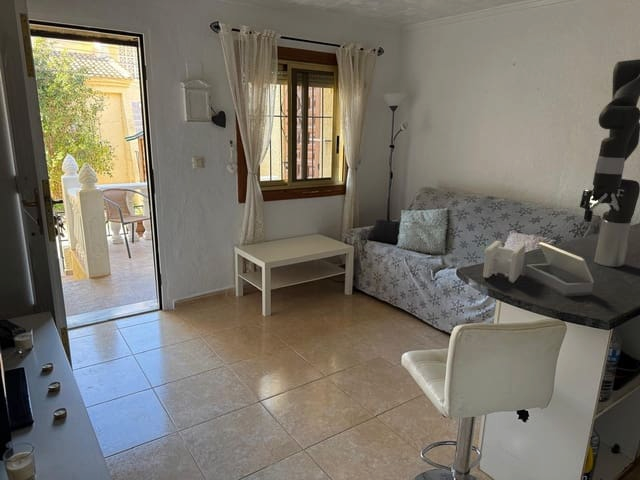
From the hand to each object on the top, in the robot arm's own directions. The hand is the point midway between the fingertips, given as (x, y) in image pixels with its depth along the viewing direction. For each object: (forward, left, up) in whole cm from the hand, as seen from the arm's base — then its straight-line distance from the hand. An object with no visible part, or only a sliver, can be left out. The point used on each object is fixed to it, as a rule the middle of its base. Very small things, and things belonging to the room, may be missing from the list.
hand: (599, 221), depth 147 cm
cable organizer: (+24, -13, -23) cm, 35 cm away
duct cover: (+8, -3, -15) cm, 17 cm away
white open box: (+10, -3, -22) cm, 25 cm away
